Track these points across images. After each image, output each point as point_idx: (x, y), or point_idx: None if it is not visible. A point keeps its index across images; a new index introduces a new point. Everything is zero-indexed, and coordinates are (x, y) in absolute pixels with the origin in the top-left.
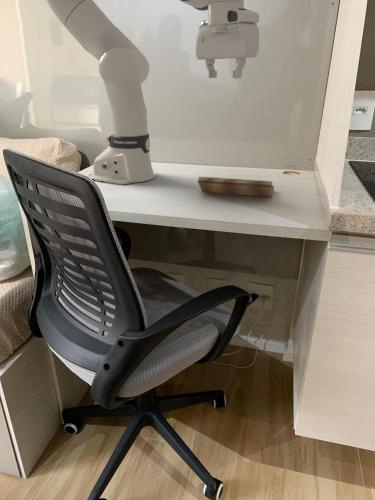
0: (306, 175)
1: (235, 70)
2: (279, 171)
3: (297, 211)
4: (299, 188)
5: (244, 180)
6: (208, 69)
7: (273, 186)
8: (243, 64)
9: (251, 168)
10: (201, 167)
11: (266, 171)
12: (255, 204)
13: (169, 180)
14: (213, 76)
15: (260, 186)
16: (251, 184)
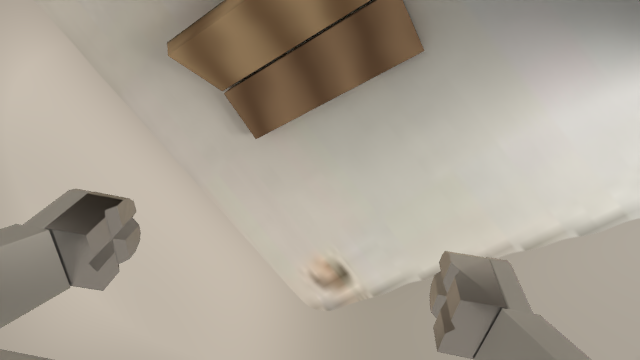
0: (295, 278)
1: (38, 227)
2: (360, 276)
3: (125, 41)
4: (240, 190)
5: (227, 9)
6: (540, 327)
7: (254, 134)
8: None
9: (433, 266)
10: (574, 205)
11: (384, 262)
12: None
13: (595, 14)
14: (442, 269)
15: (190, 27)
16: (209, 14)
